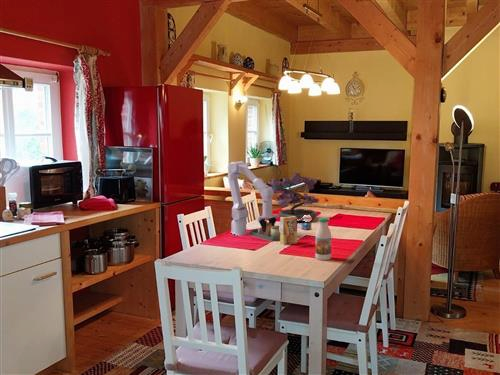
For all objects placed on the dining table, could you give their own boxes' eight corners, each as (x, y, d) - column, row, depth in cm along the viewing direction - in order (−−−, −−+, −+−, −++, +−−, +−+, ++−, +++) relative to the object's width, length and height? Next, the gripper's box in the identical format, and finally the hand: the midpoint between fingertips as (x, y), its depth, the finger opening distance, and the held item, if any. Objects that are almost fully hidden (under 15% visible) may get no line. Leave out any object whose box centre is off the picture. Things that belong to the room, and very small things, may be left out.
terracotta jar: (262, 234, 283) (261, 223, 282) (268, 233, 286) (268, 221, 285) (267, 236, 279) (266, 224, 278) (273, 235, 282) (273, 223, 281)
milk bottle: (313, 256, 241) (313, 217, 238) (329, 256, 241) (329, 216, 239) (317, 260, 233) (317, 220, 231) (333, 260, 234) (333, 219, 231)
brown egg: (268, 238, 278) (268, 226, 277) (275, 237, 281) (275, 225, 280) (274, 239, 274) (274, 227, 273) (281, 238, 277) (281, 226, 276)
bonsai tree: (320, 216, 345) (321, 171, 341) (315, 224, 319) (315, 175, 315) (273, 215, 355) (272, 171, 351) (264, 222, 329) (263, 174, 325)
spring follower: (255, 234, 288) (255, 227, 287) (263, 233, 291) (263, 225, 291) (259, 235, 284) (259, 228, 284) (267, 234, 288) (267, 226, 287)
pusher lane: (248, 236, 288) (248, 229, 288) (264, 233, 295) (264, 227, 295) (271, 242, 270) (271, 236, 270) (287, 239, 277) (287, 233, 277)
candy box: (293, 242, 270) (293, 215, 268) (297, 244, 266) (297, 217, 264) (279, 244, 266) (279, 217, 264) (283, 246, 262) (283, 218, 260)
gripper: (261, 210, 273) (261, 234, 275) (281, 207, 282) (281, 230, 283) (254, 208, 279) (254, 232, 281) (273, 206, 287) (274, 228, 289)
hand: (267, 231), depth 282 cm, fingers closed on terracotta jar, 5 cm apart
